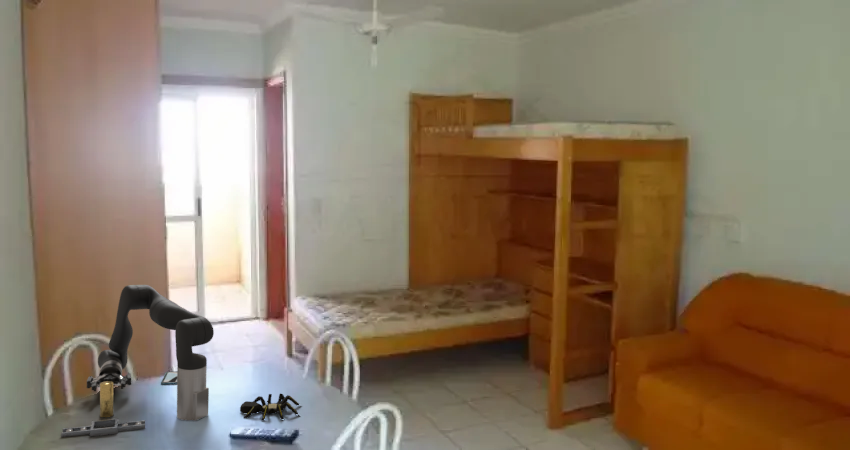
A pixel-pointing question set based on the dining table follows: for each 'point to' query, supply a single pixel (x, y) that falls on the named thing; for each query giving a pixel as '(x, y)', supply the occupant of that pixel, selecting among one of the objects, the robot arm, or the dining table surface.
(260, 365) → the dining table surface
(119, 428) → the ball bearing track
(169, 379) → the smartphone
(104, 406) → the brass pin
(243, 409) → the toy
